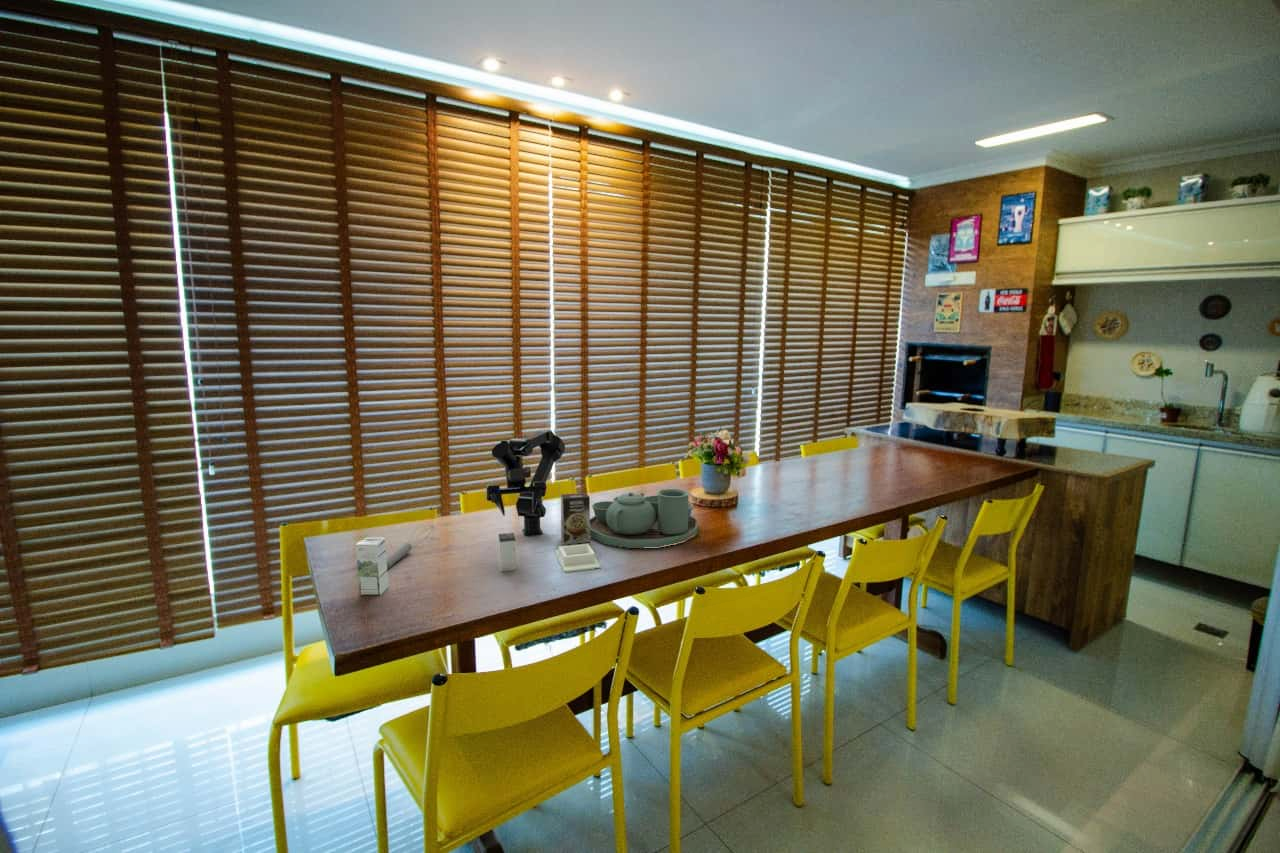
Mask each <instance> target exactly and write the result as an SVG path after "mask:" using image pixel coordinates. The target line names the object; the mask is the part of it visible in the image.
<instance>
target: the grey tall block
mask: <svg viewBox="0 0 1280 853" xmlns="http://www.w3.org/2000/svg"><path fill="white" fill-rule="evenodd" d="M516 549H517V548H516V535H515V533H514V532H507V533H498V556H499V570H500V572H509V571H515V570H517V553H516V552H517V551H516Z"/></svg>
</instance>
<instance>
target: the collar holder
mask: <svg viewBox="0 0 1280 853" xmlns="http://www.w3.org/2000/svg"><path fill="white" fill-rule="evenodd" d="M554 553H555V556H556V558H557V560H558V562H559V565H560V566H561V568H562V571H563V573H564V574H565V573H573V572H580V571H590V570H596V569H595V568H599V569H601V568H602V566H601V564H600V563H599V561H598V560H597V558H596V553H595V552H594V550H593V548H592V547H591V545H590V543H582V544H570V545H563V546H558V549H554ZM589 569H590V570H589Z"/></svg>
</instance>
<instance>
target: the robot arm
mask: <svg viewBox="0 0 1280 853" xmlns="http://www.w3.org/2000/svg"><path fill="white" fill-rule="evenodd" d="M537 447H539V448H540V454H541V458H540V461H539V463H538V465H537V468H536V470H535V472H534V474H533V476H532V473H531V470H532V469H531V466H524V463H523V460H522V457H529V456H531V454H532V453H533V452H534V448H537ZM565 450H566V444H565V442H564V441H563V440H562V438H560V437H559V436H558V435H556V434H554V432H553V431H552V430H549V429H548V430H547V429H540V430H537V432H534V433H532V434H530V435H527V436H525V437H520V438H519V437H517V438H510V440H507V439H506V440H505V439H501V441H500V442H499V443H498V444H496V445H495V446H494V447H493V448H492V450H491V455H492V456H493V458H494V459H495V460H496V461H497V462H498V463H499V464H500V466H502V467H504V471H505V472H504V473H505V480H506V481H505V482H506V487H501V488H500V484H499V483H497V484H487V486H486V492H485V493H486V494H485V495H486V501H488V502H491V503H494V504H495V506H496V507H498V510H500V512H501V514H502V515H503V517H505V516H506V514H505V505H504V502H503V497H502V495H507V494H508V495H512V494H513V495H516V494H517V495H518V494H519V495H518V497H517V500H516V502H515V508H516V512H517V516H518V517H523V528H522V533H523V536H533V535H543V530H542V527H541V518H545V515H546V512H547V508H546V507H545V506H544V504H543V497H545V496H546V492H547V480H548V479H549V476H550V473H551V471H552V468H553V465H554V463H556V462H557V461H559V460H560V459H561V458H562V456H563V454H564V453H565ZM523 466H524V467H523ZM531 476H532V479H531V481H530V483H529V486H526V484H527V481H526V480H527V478H531Z"/></svg>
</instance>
